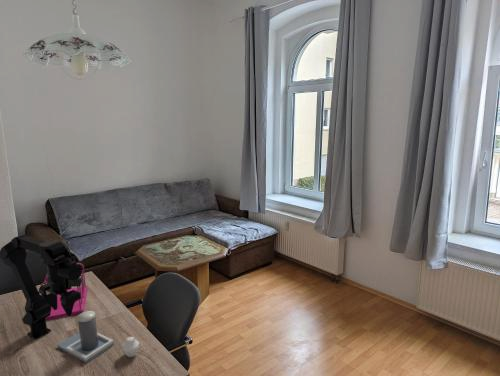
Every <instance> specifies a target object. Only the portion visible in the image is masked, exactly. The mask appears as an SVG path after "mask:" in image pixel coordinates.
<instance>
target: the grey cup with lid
mask: <svg viewBox="0 0 500 376" xmlns="http://www.w3.org/2000/svg"><path fill="white" fill-rule="evenodd" d="M77 323H78V331H79V332H78V333H80V341H81V349H82V350H83V351H90V350H93V349H95V348H96V347H97V346H98V345H99V343H98V335H97V333H98V329H97V319H96V312H95V311H94V310H86V311H83V313H81V314H77Z"/></svg>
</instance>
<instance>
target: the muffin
mask: <svg viewBox="0 0 500 376" xmlns="http://www.w3.org/2000/svg"><path fill="white" fill-rule="evenodd" d="M139 347H140V343H139V340H137V339H136V338H135V337H134V336H128V337H127V338H126V339H125V340H124V343H123V344H122V345H121V350H122V352H123V354H125V355H126V357H128V358H132V357H135V356H136V355H137V353H138V351H139Z"/></svg>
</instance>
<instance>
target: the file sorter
mask: <svg viewBox="0 0 500 376" xmlns="http://www.w3.org/2000/svg"><path fill="white" fill-rule="evenodd" d="M76 264H77V265H80V266H81V268H82V274H81V276H80V278H82V282H81V286H80V287H78V286H76V287H72V289H69V290H67V291H68V292H69V291H71V290H75V291H77V292H80V293H81V299H79V300H78V301H76V302H75V303H74V306H73V310H72V314H71V316H74V315H79V314H81V313H83V312H85V311H84V310H85V306H86V305H85V304H86V298H87V293H88V285H86V275H85V266H84V264H82V263H80V262H76ZM48 278H49V276H48V272H47V273H46V274H45V278H44V280H43V282H42V283H41V284H40V286H42V285H44V284H47V283H48V282H47V279H48ZM40 295H41V296H42V294H40ZM60 297H61V296H60V295H57V304H58V306H57V310H54V309H53V308H52V307H51V314H50V316H48V317H46V318H45V319H46V321H50V320H54V319H60V318H64V317H68V316H67V314H66V312H65V311H64V309H63V307H62V305H61V301H60Z"/></svg>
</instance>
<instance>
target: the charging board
mask: <svg viewBox="0 0 500 376" xmlns="http://www.w3.org/2000/svg"><path fill="white" fill-rule="evenodd" d="M97 335H98V343H99V345H98V346H97V347H96V348H95V349H93V350H90V351H83V350H82V349H81V341H80V333H79V332H78V333H76V334H74V335H72V336H70V337H69V338H67V339H65V340H63V341H61V342H60V343H57V344H56V347H57V348H58V349H60V350H61V351H63V352H65V353H67V354H68V355H71V356H73V357H74V358H76V359H78V360H79V361H82V362H83V363H85V364H87V363H88V362H90V361H92V360H93V359H94V358H96V357H98V356H99V355H101V354H102V353H103V352H106V351H107V350H108V349H110V348H111V347H113V346H115V343H114V342H115V341H114V339H112V338H110V337H108V336H105V335H103V334H102V333H100V332H97Z"/></svg>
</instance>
